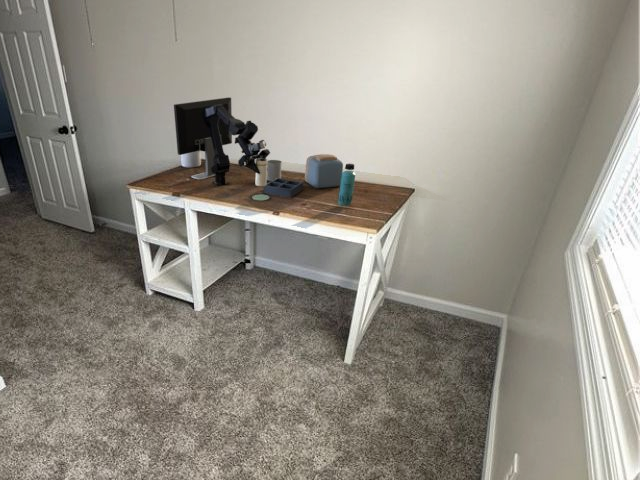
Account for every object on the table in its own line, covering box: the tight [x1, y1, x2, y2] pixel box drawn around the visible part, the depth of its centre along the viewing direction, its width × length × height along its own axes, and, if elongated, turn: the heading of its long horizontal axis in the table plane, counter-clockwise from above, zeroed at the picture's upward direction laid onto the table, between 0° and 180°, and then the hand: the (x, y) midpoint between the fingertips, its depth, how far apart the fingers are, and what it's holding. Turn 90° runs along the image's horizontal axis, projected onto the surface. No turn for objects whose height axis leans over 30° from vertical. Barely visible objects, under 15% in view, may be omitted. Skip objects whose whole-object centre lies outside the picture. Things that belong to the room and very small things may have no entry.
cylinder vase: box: [180, 151, 202, 169], centre depth 261 cm, size 12×12×25 cm
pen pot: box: [254, 158, 268, 187], centre depth 205 cm, size 6×6×12 cm
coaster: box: [251, 194, 270, 201], centre depth 212 cm, size 9×9×1 cm
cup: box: [267, 159, 283, 182], centre depth 237 cm, size 8×8×10 cm
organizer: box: [263, 177, 304, 199], centre depth 219 cm, size 15×15×4 cm
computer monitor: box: [173, 96, 233, 180], centre depth 238 cm, size 41×8×40 cm, turn 136°
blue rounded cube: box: [304, 153, 344, 190], centre depth 227 cm, size 16×16×16 cm
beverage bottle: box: [337, 163, 357, 207], centre depth 195 cm, size 6×7×20 cm
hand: (263, 172), depth 204 cm, fingers closed on pen pot, 5 cm apart
